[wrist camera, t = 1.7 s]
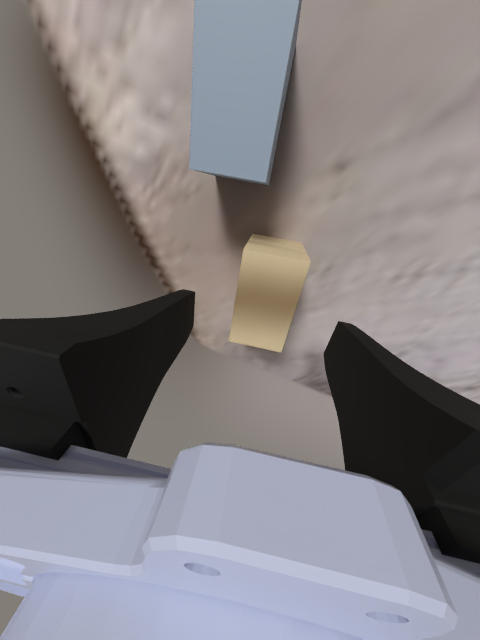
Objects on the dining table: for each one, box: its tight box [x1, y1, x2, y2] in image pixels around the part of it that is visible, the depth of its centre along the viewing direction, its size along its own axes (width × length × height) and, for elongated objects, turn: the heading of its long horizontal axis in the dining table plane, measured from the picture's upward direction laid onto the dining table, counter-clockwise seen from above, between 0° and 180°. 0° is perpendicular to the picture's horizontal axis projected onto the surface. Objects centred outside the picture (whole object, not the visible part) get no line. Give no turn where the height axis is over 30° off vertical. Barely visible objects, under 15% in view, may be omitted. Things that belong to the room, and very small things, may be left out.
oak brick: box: [229, 234, 311, 352], centre depth 15 cm, size 6×4×5 cm, turn 171°
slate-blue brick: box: [189, 0, 302, 185], centre depth 10 cm, size 6×4×5 cm, turn 171°
